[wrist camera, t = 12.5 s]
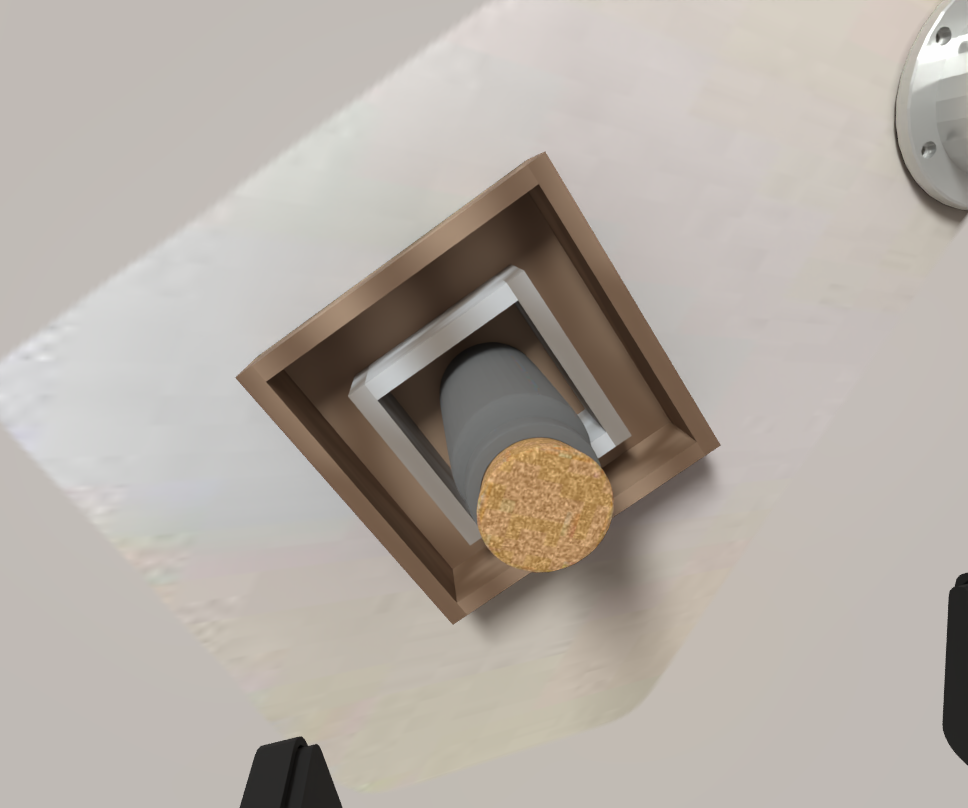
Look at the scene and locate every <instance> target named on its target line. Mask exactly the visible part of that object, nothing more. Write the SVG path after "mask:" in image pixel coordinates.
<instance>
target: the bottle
mask: <svg viewBox="0 0 968 808" xmlns="http://www.w3.org/2000/svg"><path fill="white" fill-rule="evenodd" d="M440 407H441V413H442V419H443V425H444V431H445V437H446V443H447V450H448V455H449V460H450V465H451V470H452V475H453V479H454V482H455V484H456V487H457V489H458V491H459V493H460V495H461V496H462V498H463V499H464V500H465V502H466V503H467V505H468V508H469V511H470V513H471V516H472V518H473V519H474V521H475V523H476V524H477V526H478V529H479V532H480V535H481V537H482V539H483V541H484V543H485V545H486V546H487V547H488V549H489V550H490V551H491V552H492V553H493V555H495V556H496V557H497V558H498V559H500V560H501V561H502V562H504V563H505V564H507V565H509V566H511V567H514V568H516V569H520V570H524V571H528V572H551V571H556V570H560V569H563V568H567V567H569V566H571V565H573V564H575V563H577V562H579V561H580V560H582V559H583V558H585V557H586V556H588V555H589V554H590V553H591V552H592V551H593V550H594V549H595V548H596V547H597V546H598V545H599V543H600V542H601V541H602V540H603V538H604V536H605V534H606V532H607V531H608V529H609V526H610V523H611V520H612V516H613V510H614V498H613V491H612V487H611V484H610V482H609V480H608V477H607V476H606V474H605V473H604V471H603V469H602V468H601V465H600V462H599V460H598V457H597V455H596V453H595V451H594V450H593V448H592V447H591V442H590V438H589V435H588V432H587V430H586V428H585V426H584V424H583V422H582V421H581V419H580V418H579V416H578V415H577V414H576V412H575V411H574V410H573V409H572V407H571V406H570V405H569V404H568V402H567V401H566V400H565V399H564V398H563V396H562V395H561V394H560V393H559V392H558V390H557V389H556V388H555V387H554V386H553V385H552V383H551V382H550V381H549V380H548V379H547V378H546V376H545V375H544V374H543V373H542V372H541V371H540V370H539V368H538V367H537V366H536V365H535V364H534V363H533V362H532V361H531V360H530V359H529V358H528V357H527V356H526V355H525V354H524V353H523V352H521V351H520V350H518V349H516V348H514V347H512V346H510V345H507V344H503V343H498V342H487V343H481V344H476V345H474V346H471V347H469V348H467V349H465V350H464V351H462V352H461V353H459V354H458V355H457V356H456V357H455V358H454V359H453V360H452V361H451V362H450V364H449V365H448V366H447V368H446V370H445V372H444V374H443V377H442V380H441V384H440Z"/></svg>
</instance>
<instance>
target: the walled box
mask: <svg viewBox="0 0 968 808" xmlns="http://www.w3.org/2000/svg"><path fill="white" fill-rule="evenodd" d="M487 342H498V343H503V344H507V345H510V346H512V347H514V348H516V349H518V350H520V351H521V352H523V353H524V354H525V355H526V356H527V357H528V358H529V359H530V360H531V361H532V362H533V363H534V364H535V365H536V366H537V367H538V368H539V370H540V371H541V372H542V373H543V374H544V375H545V376H546V378H547V379H548V380H549V381H550V382H551V383H552V385H553V386H554V387H555V388H556V389H557V390H558V392H559V393H560V394H561V395H562V396H563V398H564V399H565V400H566V401H567V402H568V404H569V405H570V406H571V407H572V409H573V410H574V411H575V412H576V414H577V415H578V416H579V418H580V419H581V421H582V422H583V424H584V426H585V428H586V430H587V432H588V435H589V438H590V442H591V447H592V448H593V450H594V451H595V453H596V455H597V457H598V460H599V462H600V465H601V468H602V469H603V471H604V473H605V474H606V476H607V477H608V480H609V482H610V484H611V487H612V491H613V498H614V510H613V516H612V518H613V517H614V516H616V515H617V514H619V513H620V512H622V511H623V510H625V509H626V508H628V507H629V506H631V505H632V504H634V503H635V502H637V501H638V500H640V499H641V498H643V497H644V496H646V495H647V494H649V493H650V492H652V491H653V490H655V489H656V488H658V487H659V486H661V485H662V484H664V483H665V482H667V481H668V480H670V479H671V478H673V477H674V476H676V475H677V474H679V473H680V472H682V471H683V470H685V469H686V468H688V467H689V466H691V465H692V464H694V463H695V462H696V461H698V460H699V459H701V458H702V457H704V456H705V455H707V454H708V453H710V452H711V451H713V450H714V449H716V448H717V447H719V446H720V443H719V442H718V440H717V438H716V437H715V435H714V433H713V432H712V430H711V428H710V427H709V425H708V423H707V422H706V420H705V418H704V417H703V415H702V413H701V412H700V410H699V408H698V407H697V405H696V403H695V402H694V400H693V398H692V397H691V395H690V393H689V392H688V390H687V388H686V387H685V385H684V383H683V381H682V380H681V378H680V376H679V375H678V373H677V371H676V370H675V368H674V366H673V365H672V363H671V361H670V360H669V358H668V356H667V355H666V353H665V351H664V350H663V348H662V346H661V345H660V343H659V341H658V340H657V338H656V336H655V335H654V333H653V331H652V330H651V328H650V326H649V325H648V323H647V321H646V320H645V318H644V316H643V315H642V313H641V311H640V309H639V308H638V306H637V304H636V303H635V301H634V299H633V298H632V296H631V294H630V293H629V291H628V289H627V288H626V286H625V284H624V283H623V281H622V279H621V278H620V276H619V274H618V273H617V271H616V269H615V268H614V266H613V264H612V263H611V261H610V259H609V258H608V256H607V254H606V253H605V251H604V249H603V248H602V246H601V244H600V243H599V241H598V239H597V238H596V236H595V234H594V232H593V231H592V229H591V227H590V226H589V224H588V222H587V221H586V219H585V217H584V216H583V214H582V212H581V211H580V209H579V207H578V206H577V204H576V202H575V201H574V199H573V197H572V196H571V194H570V192H569V191H568V189H567V187H566V186H565V184H564V182H563V181H562V179H561V177H560V176H559V174H558V172H557V171H556V169H555V167H554V166H553V164H552V162H551V161H550V159H549V157H548V155H547V154H546V152H543V153H541V154H539V155H537V156H535V157H532V158H530V159H528V160H526V161H525V162H524V163H522V164H521V165H519V166H518V167H517V168H515V169H514V170H513V171H511V172H510V173H508V174H507V175H506V176H504V177H503V178H502V179H500V180H499V181H498V182H496V183H495V184H493V185H492V186H491V187H489V188H488V189H487V190H485V191H484V192H482V193H481V194H480V195H478V196H477V197H476V198H474V199H473V200H471V201H470V202H469V203H467V204H466V205H465V206H463V207H462V208H461V209H459V210H458V211H456V212H455V213H454V214H452V215H451V216H450V217H448V218H447V219H445V220H444V221H443V222H441V223H440V224H439V225H437V226H436V227H434V228H433V229H432V230H430V231H429V232H428V233H426V234H425V235H424V236H422V237H421V238H419V239H418V240H417V241H415V242H414V243H413V244H411V245H410V246H408V247H407V248H406V249H404V250H403V251H402V252H400V253H399V254H397V255H396V256H395V257H393V258H392V259H391V260H389V261H388V262H387V263H385V264H384V265H382V266H381V267H380V268H378V269H377V270H376V271H374V272H373V273H371V274H370V275H369V276H367V277H366V278H365V279H363V280H362V281H360V282H359V283H358V284H356V285H355V286H354V287H352V288H351V289H350V290H348V291H347V292H345V293H344V294H343V295H341V296H340V297H339V298H337V299H336V300H334V301H333V302H332V303H330V304H329V305H328V306H326V307H325V308H324V309H322V310H321V311H319V312H318V313H317V314H315V315H314V316H313V317H311V318H310V319H308V320H307V321H306V322H304V323H303V324H302V325H300V326H299V327H297V328H296V329H295V330H293V331H292V332H291V333H289V334H288V335H287V336H285V337H284V338H282V339H281V340H280V341H278V342H277V343H276V344H274V345H273V346H271V347H270V348H269V349H267V350H266V351H265V352H263V353H262V354H260V355H259V356H258V357H257V358H255V359H254V360H253V361H252V362H251V363H250V364H249V365H248V366H247V367H246V368H245V369H244V370H243V371H242V372H241V373H240V374H239V375H238V376H237V377H235V378H236V379H237V380H238V381H239V382H240V383H241V385H242V386H243V387H244V388H245V389H246V390H247V391H248V393H249V394H250V395H251V396H252V397H253V398H254V399H255V400H256V402H257V403H258V404H259V405H260V406H261V407H262V408H263V410H264V411H265V412H266V413H267V414H268V415H269V416H270V418H271V419H272V420H273V421H274V422H275V423H276V424H277V425H278V427H279V428H280V429H281V430H282V431H283V432H284V433H285V435H286V436H287V437H288V438H289V439H290V440H291V441H292V442H293V444H294V445H295V446H296V447H297V448H298V449H299V450H300V452H301V453H302V454H303V455H304V456H305V457H306V458H307V460H308V461H309V462H310V463H311V464H312V465H313V466H314V467H315V469H316V470H317V471H318V472H319V473H320V474H321V475H322V477H323V478H324V479H325V480H326V481H327V482H328V483H329V484H330V486H331V487H332V488H333V489H334V490H335V491H336V492H337V494H338V495H339V496H340V497H341V498H342V499H343V500H344V502H345V503H346V504H347V505H348V506H349V507H350V508H351V509H352V511H353V512H354V513H355V514H356V515H357V516H358V517H359V519H360V520H361V521H362V522H363V523H364V524H365V525H366V527H367V528H368V529H369V530H370V531H371V532H372V533H373V534H374V536H375V537H376V538H377V539H378V540H379V541H380V542H381V544H382V545H383V546H384V547H385V548H386V549H387V550H388V551H389V553H390V554H391V555H392V556H393V557H394V558H395V559H396V561H397V562H398V563H399V564H400V565H401V566H402V567H403V569H404V570H405V571H406V572H407V573H408V574H409V575H410V576H411V578H412V579H413V580H414V581H415V582H416V583H417V584H418V586H419V587H420V588H421V589H422V590H423V591H424V592H425V593H426V595H427V596H428V597H429V598H430V599H431V600H432V601H433V603H434V604H435V605H436V606H437V607H438V608H439V609H440V611H441V612H442V613H443V614H444V615H445V616H446V617H447V618H448V620H449V621H450V622H451V623H452V624H455V623H456V622H458V621H459V620H461V619H462V618H464V617H465V616H467V615H468V614H470V613H471V612H472V611H474V610H475V609H477V608H478V607H480V606H481V605H483V604H484V603H486V602H487V601H489V600H490V599H492V598H493V597H495V596H496V595H498V594H499V593H501V592H502V591H504V590H505V589H507V588H508V587H510V586H511V585H513V584H514V583H516V582H517V581H519V580H520V579H522V578H523V577H525V576H526V575H528V574H529V573H531V572H528V571H524V570H520V569H516V568H514V567H511V566H509V565H507V564H505V563H504V562H502V561H501V560H500V559H498V558H497V557H496V556H495V555H493V553H492V552H491V551H490V550H489V549H488V547H487V546H486V545H485V543H484V541H483V539H482V537H481V535H480V532H479V529H478V526H477V524H476V523H475V521H474V519H473V518H472V516H471V513H470V511H469V508H468V505H467V503H466V502H465V500H464V499H463V498H462V496H461V495H460V493H459V491H458V489H457V487H456V484H455V482H454V479H453V475H452V470H451V465H450V460H449V455H448V450H447V443H446V437H445V431H444V425H443V419H442V413H441V407H440V384H441V380H442V377H443V374H444V372H445V370H446V368H447V366H448V365H449V364H450V362H451V361H452V360H453V359H454V358H455V357H456V356H457V355H458V354H459V353H461V352H462V351H464V350H465V349H467V348H469V347H471V346H474V345H476V344H481V343H487Z"/></svg>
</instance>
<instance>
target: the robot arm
mask: <svg viewBox="0 0 968 808" xmlns="http://www.w3.org/2000/svg"><path fill="white" fill-rule="evenodd" d="M896 128H897V135H898V142H899V147H900V150H901V153H902V156H903V158H904V161H905V164H906V166H907V168H908V170H909V171H910V173H911V175H912V176H913V178H914V180H915V181H916V182H917V183H918V184H919V185H920V186H921V187H922V189H923V190H924V191H925V192H926V193H927V194H928V195H930V196H931V197H933V198H935V199H936V200H938V201H939V202H941V203H943V204H945V205H948V206H951V207H954V208H957V209H960V210H968V0H943V1H942V2H941V3H940V4H939V5H938V6H937V8H936V9H935V10H934V12H933V13H932V14H931V16H930V17H929V19H928V20H927V21H926V23H925V24H924V25H923V27H922V28H921V30H920V32H919V34H918V36H917V38H916V40H915V42H914V44H913V45H912V47H911V49H910V51H909V54H908V57H907V60H906V63H905V66H904V69H903V71H902V74H901V79H900V84H899V89H898V95H897V102H896ZM948 603H949V604H948V624H947V644H946V665H945V685H944V705H943V731H944V734H945V737H946V739H947V741H948V743H949V745H950V746H951V748H952V749H953V751H954V752H955V753H956V754H957V755H958V756H959V757H960V758H961V759H962V760H963V761H964V762H965V763H966V764H967V765H968V573H965V574H961V575H960V576H959V577H958V578H957V579H956V584H955V587H953V588H952V589H951V590H950V593H949V602H948ZM240 808H342V805H341V802H340V800H339V797H338V794H337V791H336V789H335V786H334V783H333V781H332V778H331V775H330V772H329V770H328V767H327V764H326V762H325V759H324V756H323V753H322V751H321V749H320V747H319V745H318V744H315V745H311V746H308V745H307V743H306V741H305V739H304V738H303V737H302V736H301V737H296V738H292V739H287V740H283V741H280V742H275V743H271V744H268V745H263V746H261V747H260V748H259V749H258V750H257V752H256V754H255V757H254V760H253V764H252V767H251V771H250V774H249V778H248V781H247V784H246V788H245V791H244V795H243V798H242V802H241V805H240Z"/></svg>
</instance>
